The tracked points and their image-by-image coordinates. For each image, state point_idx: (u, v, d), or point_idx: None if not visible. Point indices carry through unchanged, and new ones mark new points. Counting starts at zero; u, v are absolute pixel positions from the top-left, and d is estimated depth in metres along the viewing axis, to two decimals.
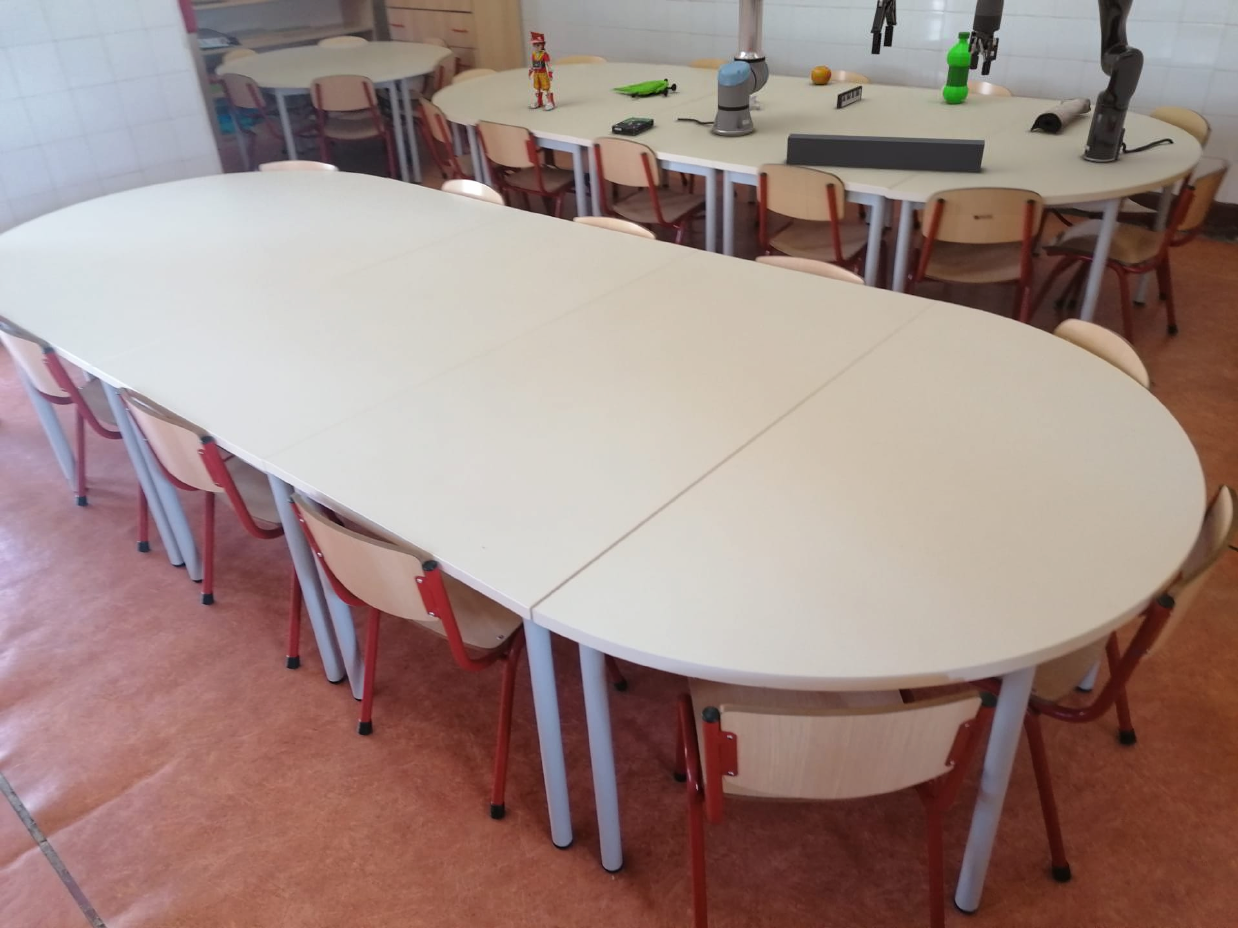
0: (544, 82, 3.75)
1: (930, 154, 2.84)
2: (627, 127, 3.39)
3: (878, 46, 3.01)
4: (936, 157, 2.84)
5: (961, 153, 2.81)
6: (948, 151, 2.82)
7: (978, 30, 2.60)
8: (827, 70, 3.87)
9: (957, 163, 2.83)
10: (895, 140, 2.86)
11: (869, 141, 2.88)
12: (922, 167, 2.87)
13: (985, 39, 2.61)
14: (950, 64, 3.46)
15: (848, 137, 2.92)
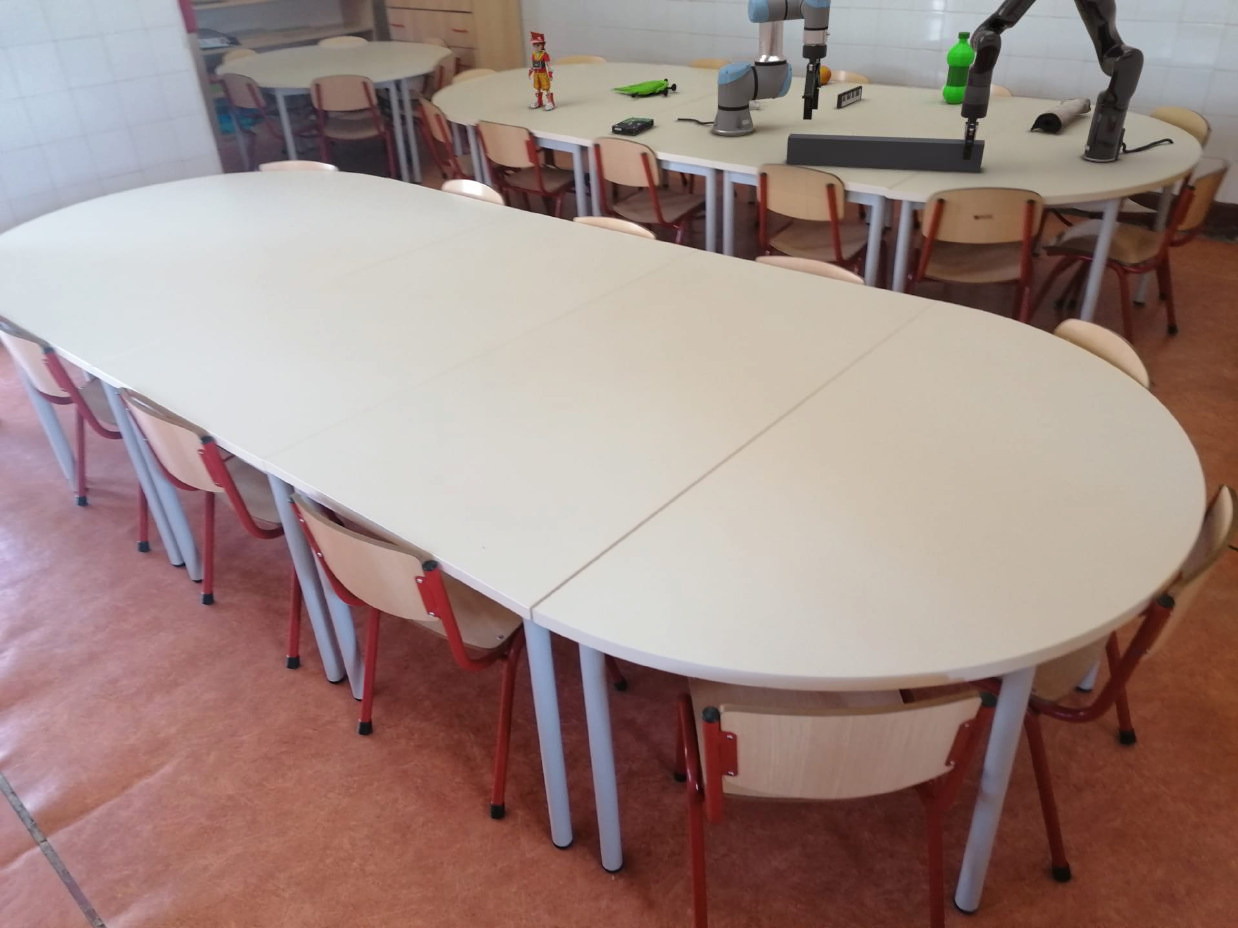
0: (544, 82, 3.75)
1: (930, 154, 2.84)
2: (627, 127, 3.39)
3: (810, 111, 2.87)
4: (936, 157, 2.84)
5: (961, 152, 2.81)
6: (948, 151, 2.82)
7: (962, 116, 2.76)
8: (827, 70, 3.87)
9: (957, 163, 2.83)
10: (895, 140, 2.86)
11: (869, 141, 2.88)
12: (922, 167, 2.87)
13: (968, 125, 2.75)
14: (950, 64, 3.46)
15: (848, 137, 2.92)
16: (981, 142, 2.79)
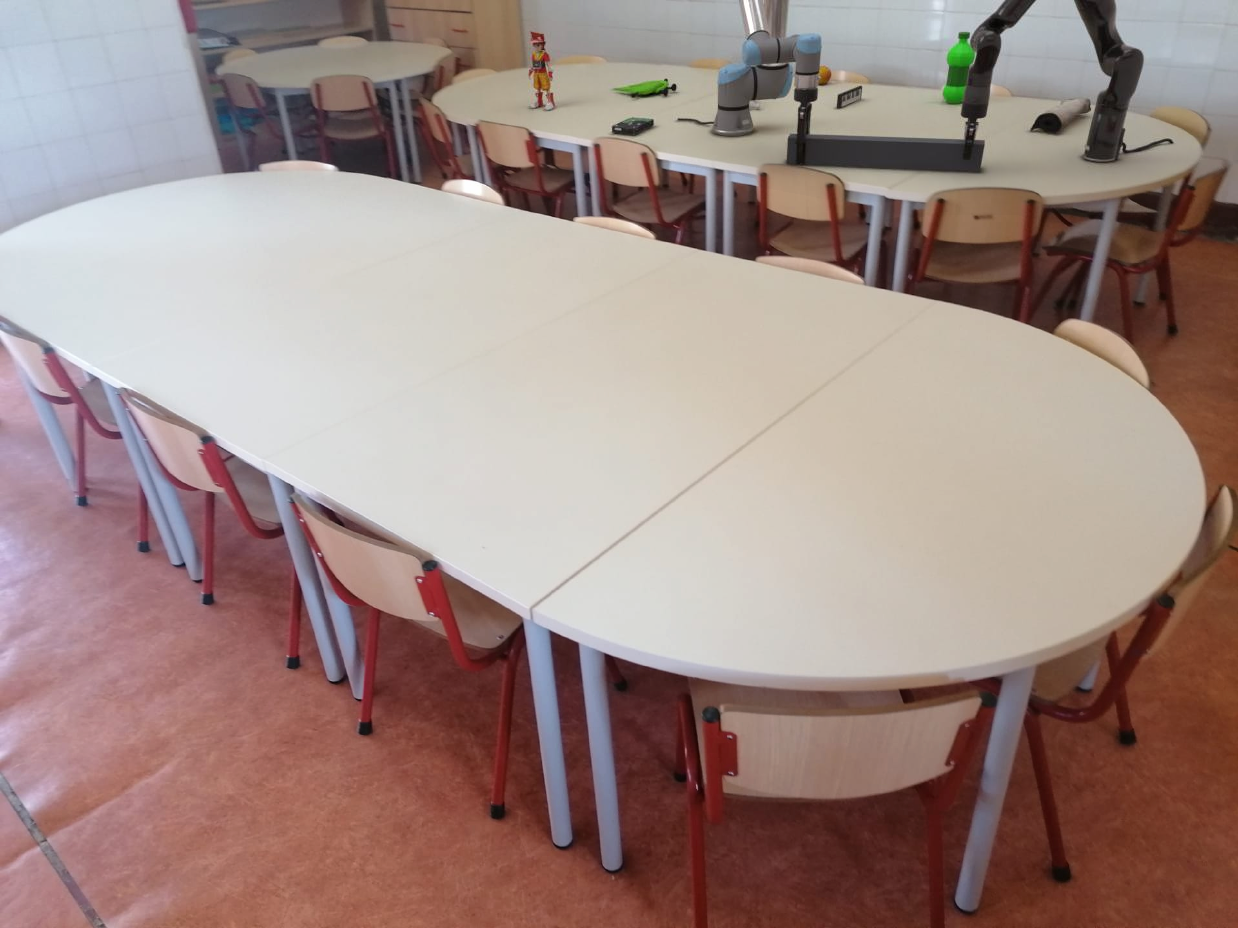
0: (544, 82, 3.75)
1: (930, 154, 2.84)
2: (627, 127, 3.39)
3: (803, 156, 2.96)
4: (936, 157, 2.84)
5: (961, 152, 2.81)
6: (948, 151, 2.82)
7: (962, 116, 2.76)
8: (827, 70, 3.87)
9: (957, 163, 2.83)
10: (895, 140, 2.86)
11: (869, 141, 2.88)
12: (922, 167, 2.87)
13: (968, 125, 2.75)
14: (950, 64, 3.46)
15: (848, 137, 2.92)
16: (981, 142, 2.79)
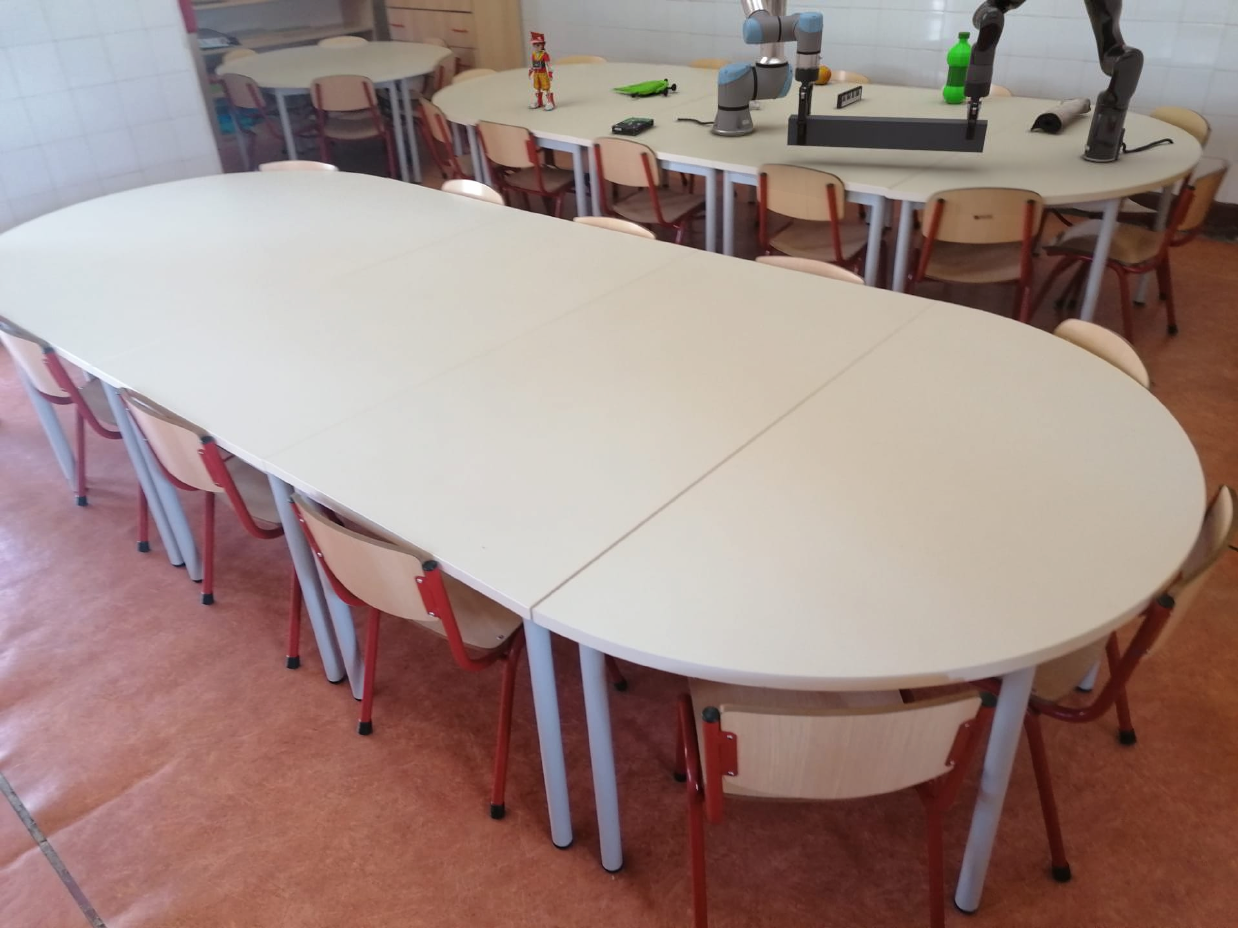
0: (544, 82, 3.75)
1: (932, 134, 2.81)
2: (627, 127, 3.39)
3: (803, 137, 2.93)
4: (938, 137, 2.81)
5: (964, 132, 2.78)
6: (951, 131, 2.79)
7: (965, 95, 2.72)
8: (827, 70, 3.87)
9: (960, 143, 2.80)
10: (896, 120, 2.83)
11: (870, 122, 2.85)
12: (924, 147, 2.84)
13: (970, 104, 2.72)
14: (950, 64, 3.46)
15: (849, 117, 2.88)
16: (984, 122, 2.76)
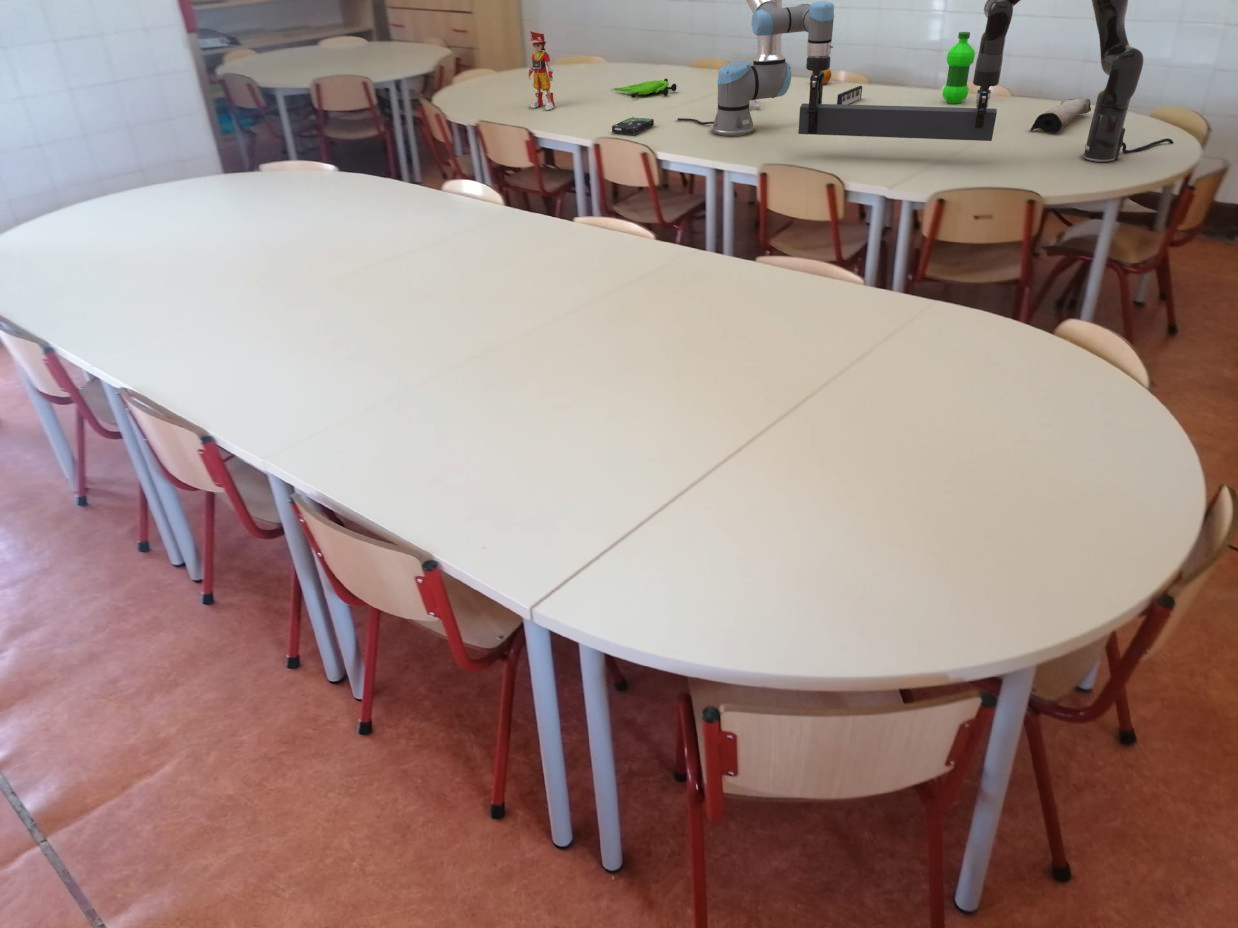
0: (544, 82, 3.75)
1: (942, 122, 2.85)
2: (627, 127, 3.39)
3: (815, 125, 2.97)
4: (948, 126, 2.85)
5: (973, 121, 2.82)
6: (960, 119, 2.83)
7: (975, 84, 2.77)
8: (827, 70, 3.87)
9: (969, 131, 2.84)
10: (907, 109, 2.87)
11: (881, 110, 2.89)
12: (934, 136, 2.88)
13: (980, 93, 2.77)
14: (950, 64, 3.46)
15: (860, 106, 2.93)
16: (993, 110, 2.81)
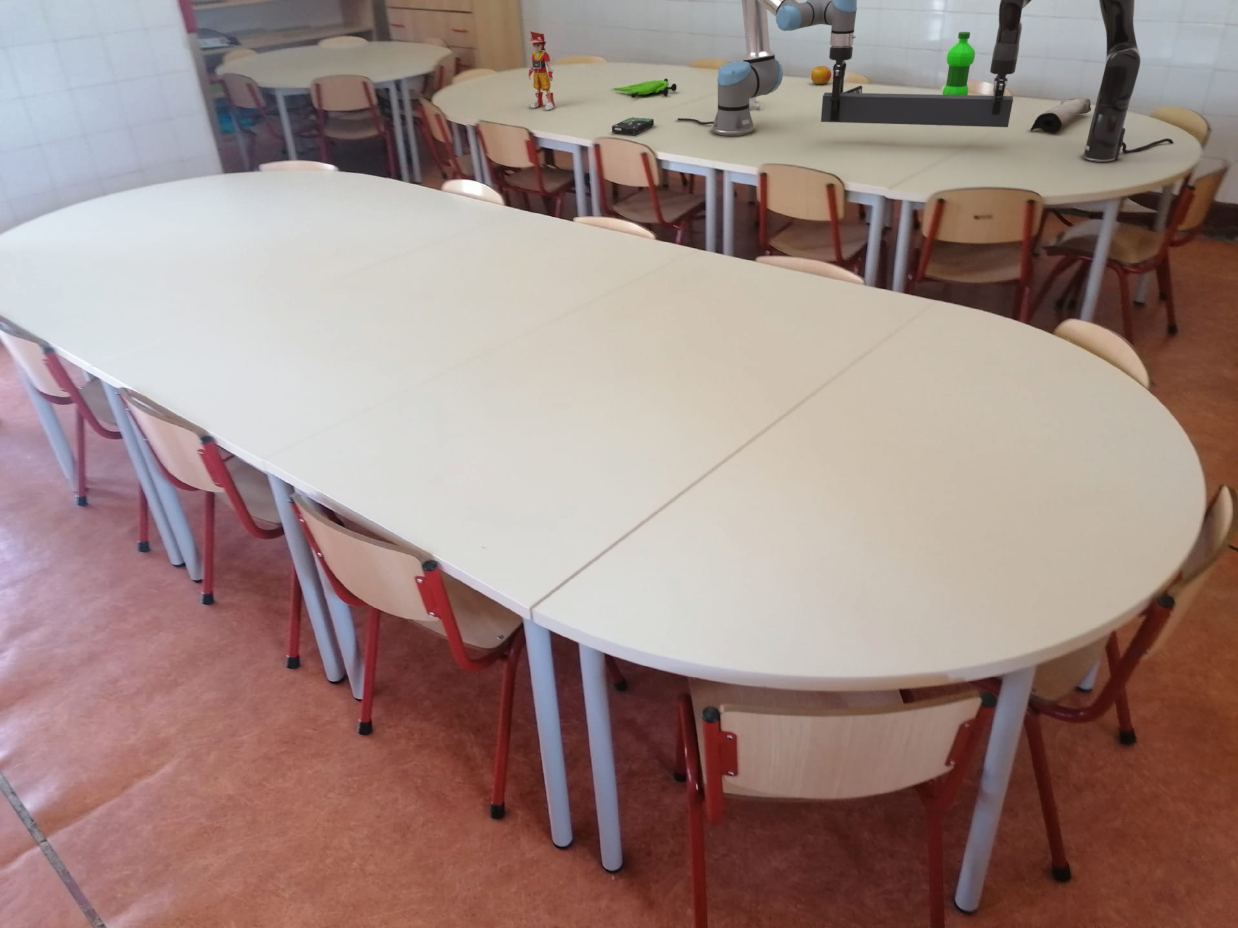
0: (544, 82, 3.75)
1: (960, 110, 2.97)
2: (627, 127, 3.39)
3: (837, 113, 3.09)
4: (966, 113, 2.97)
5: (990, 108, 2.94)
6: (978, 106, 2.95)
7: (992, 72, 2.89)
8: (827, 70, 3.87)
9: (986, 118, 2.96)
10: (926, 97, 2.99)
11: (901, 98, 3.01)
12: (952, 122, 3.00)
13: (997, 81, 2.88)
14: (950, 64, 3.46)
15: (881, 95, 3.05)
16: (1009, 98, 2.92)
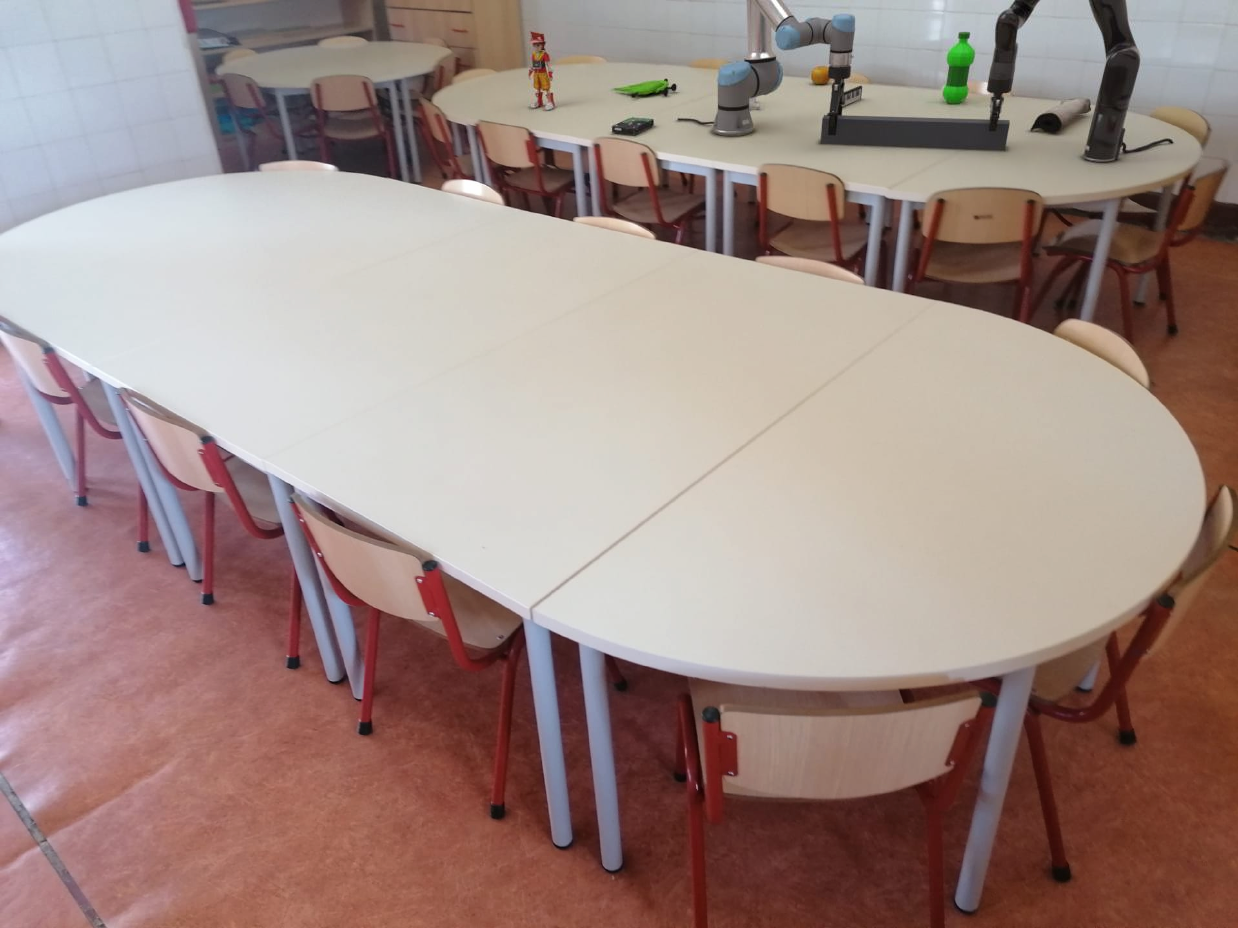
0: (544, 82, 3.75)
1: (957, 133, 3.01)
2: (627, 127, 3.39)
3: (834, 128, 3.09)
4: (963, 136, 3.01)
5: (987, 132, 2.98)
6: (975, 130, 2.99)
7: (988, 91, 2.92)
8: (827, 70, 3.87)
9: (983, 141, 3.00)
10: (924, 120, 3.03)
11: (900, 122, 3.05)
12: (950, 145, 3.04)
13: (994, 99, 2.92)
14: (950, 64, 3.46)
15: (880, 118, 3.09)
16: (1006, 122, 2.97)
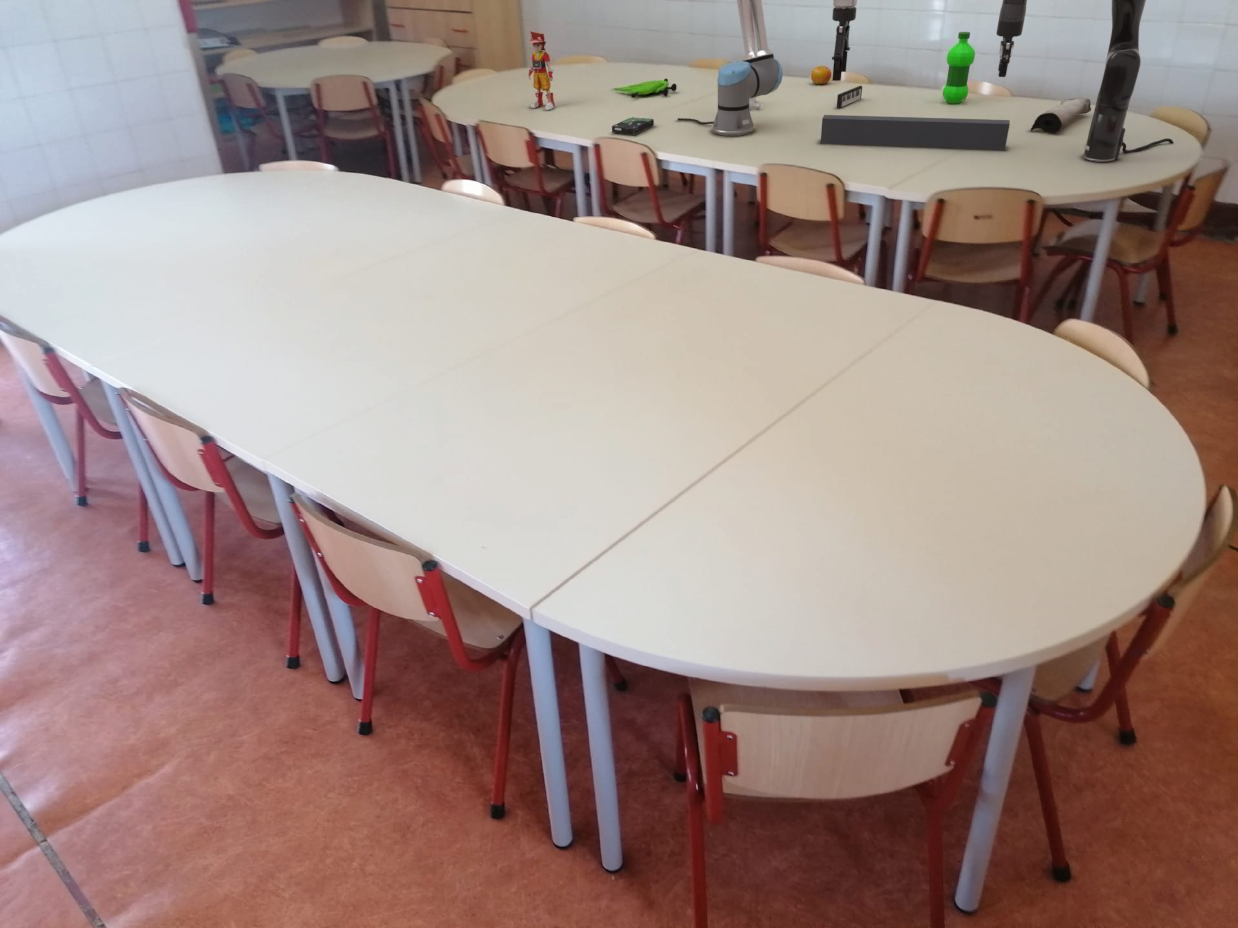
0: (544, 82, 3.75)
1: (957, 133, 3.01)
2: (627, 127, 3.39)
3: (839, 72, 2.98)
4: (963, 136, 3.01)
5: (987, 132, 2.98)
6: (975, 130, 2.99)
7: (998, 34, 2.82)
8: (827, 70, 3.87)
9: (983, 141, 3.00)
10: (924, 120, 3.03)
11: (900, 122, 3.05)
12: (950, 145, 3.04)
13: (1004, 43, 2.82)
14: (950, 64, 3.46)
15: (880, 118, 3.09)
16: (1006, 122, 2.97)
